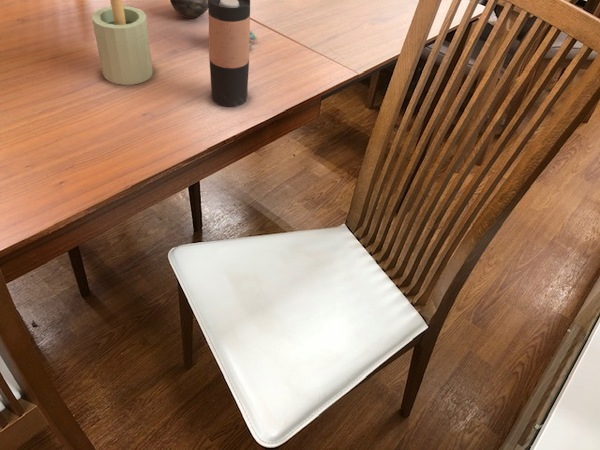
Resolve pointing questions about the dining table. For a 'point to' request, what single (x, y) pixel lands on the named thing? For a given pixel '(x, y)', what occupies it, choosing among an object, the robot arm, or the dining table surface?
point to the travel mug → (229, 50)
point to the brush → (118, 12)
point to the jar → (123, 46)
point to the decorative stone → (190, 7)
